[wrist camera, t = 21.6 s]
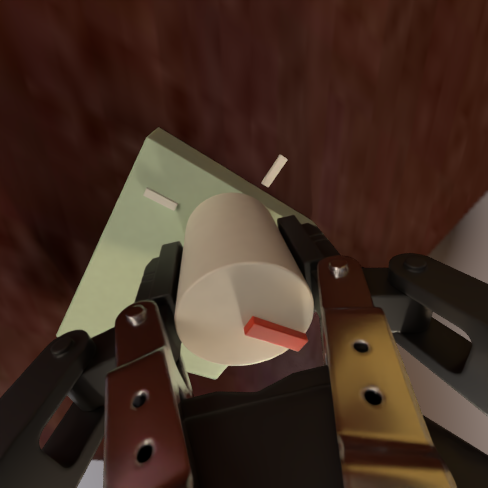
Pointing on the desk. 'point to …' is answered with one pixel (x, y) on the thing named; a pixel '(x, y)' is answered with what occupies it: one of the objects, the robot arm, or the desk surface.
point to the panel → (156, 230)
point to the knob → (239, 285)
